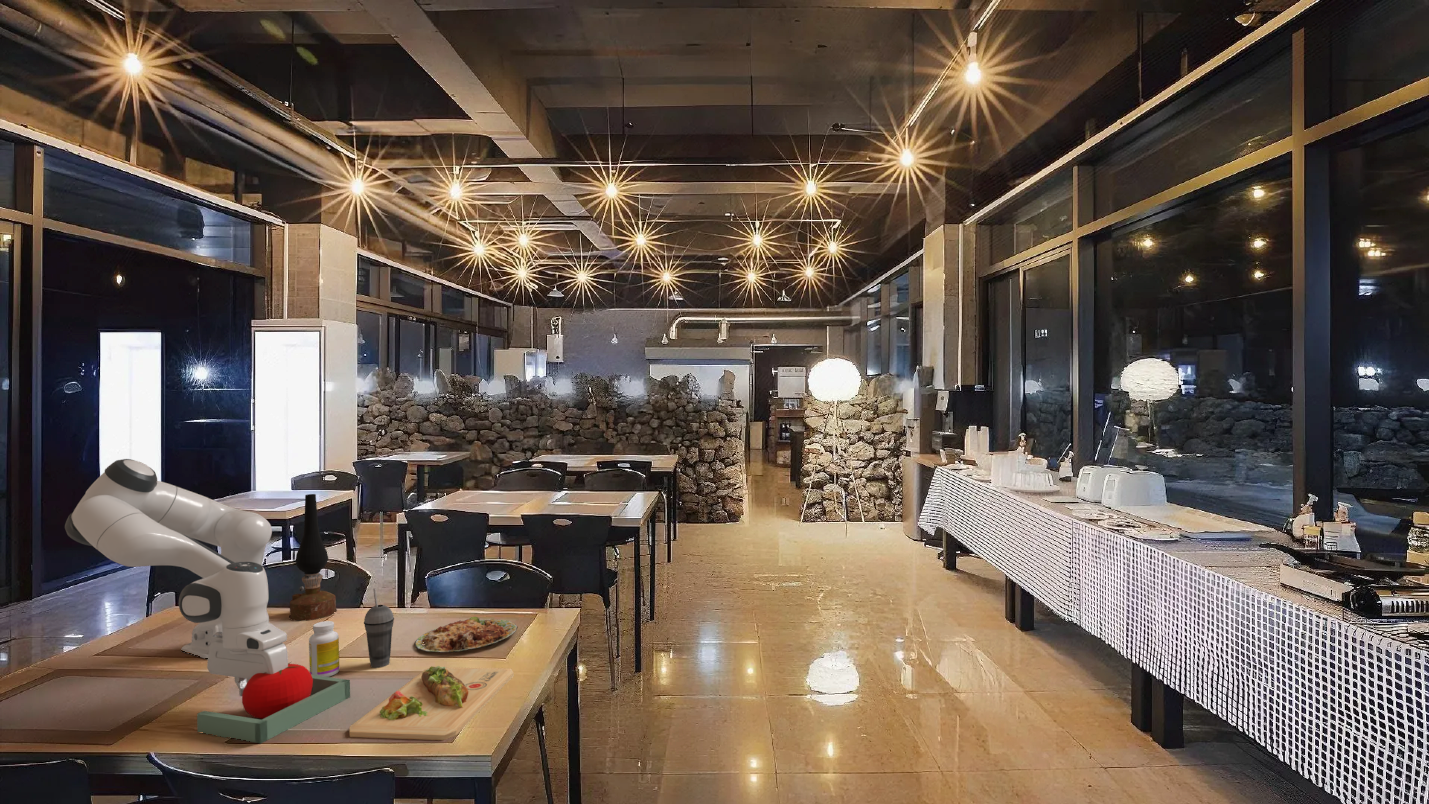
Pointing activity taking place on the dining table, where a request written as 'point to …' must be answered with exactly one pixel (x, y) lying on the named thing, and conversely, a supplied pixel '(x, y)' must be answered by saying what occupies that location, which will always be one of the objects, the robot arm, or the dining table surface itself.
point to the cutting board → (433, 704)
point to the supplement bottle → (324, 650)
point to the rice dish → (466, 635)
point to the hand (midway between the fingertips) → (247, 695)
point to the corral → (259, 731)
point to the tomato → (276, 690)
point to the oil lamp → (311, 570)
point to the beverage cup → (379, 633)
